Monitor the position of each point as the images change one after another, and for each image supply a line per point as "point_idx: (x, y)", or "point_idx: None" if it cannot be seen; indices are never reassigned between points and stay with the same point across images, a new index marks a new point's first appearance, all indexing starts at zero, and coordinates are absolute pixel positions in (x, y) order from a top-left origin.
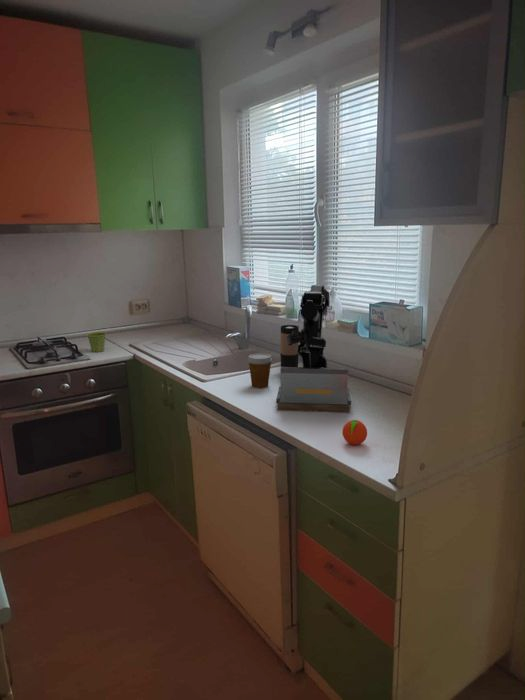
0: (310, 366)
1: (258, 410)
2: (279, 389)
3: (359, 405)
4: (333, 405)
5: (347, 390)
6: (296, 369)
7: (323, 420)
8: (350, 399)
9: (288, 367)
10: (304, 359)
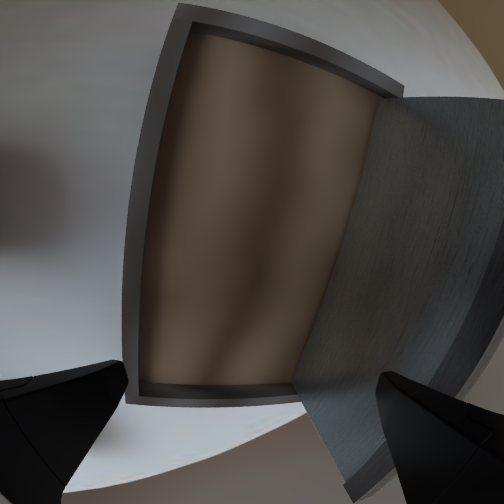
0: (381, 410)
1: (274, 409)
2: (172, 404)
3: (286, 13)
4: None
5: (226, 21)
6: None
7: None
8: (387, 77)
9: (381, 482)
10: (66, 460)
